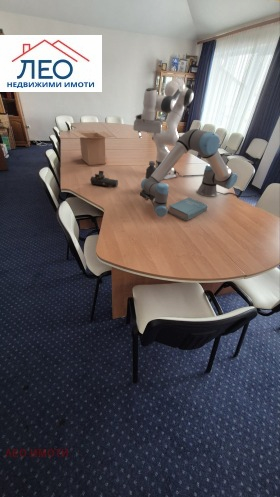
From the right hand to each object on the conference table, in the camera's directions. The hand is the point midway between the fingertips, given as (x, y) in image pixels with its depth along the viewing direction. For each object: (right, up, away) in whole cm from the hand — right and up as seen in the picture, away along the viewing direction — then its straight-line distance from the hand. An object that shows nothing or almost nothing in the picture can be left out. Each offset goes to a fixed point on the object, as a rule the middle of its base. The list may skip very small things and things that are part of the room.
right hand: (152, 189), depth 165 cm
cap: (0, +19, -3) cm, 20 cm away
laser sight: (-39, +8, +18) cm, 44 cm away
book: (+24, -19, -12) cm, 33 cm away
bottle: (-2, 0, +11) cm, 11 cm away
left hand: (-4, +36, -5) cm, 36 cm away
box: (-59, +50, +72) cm, 106 cm away
